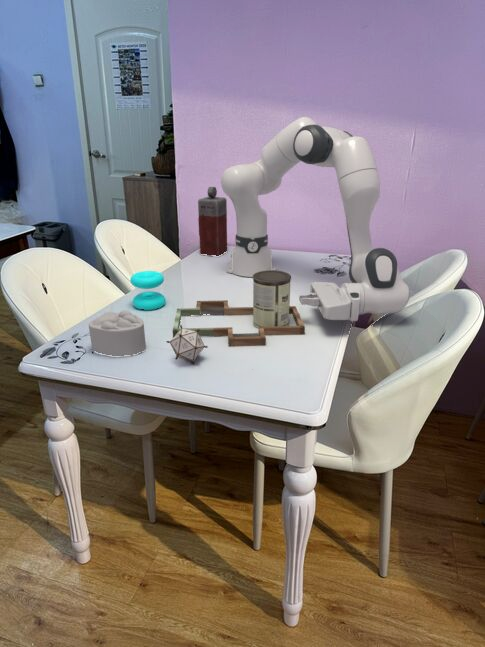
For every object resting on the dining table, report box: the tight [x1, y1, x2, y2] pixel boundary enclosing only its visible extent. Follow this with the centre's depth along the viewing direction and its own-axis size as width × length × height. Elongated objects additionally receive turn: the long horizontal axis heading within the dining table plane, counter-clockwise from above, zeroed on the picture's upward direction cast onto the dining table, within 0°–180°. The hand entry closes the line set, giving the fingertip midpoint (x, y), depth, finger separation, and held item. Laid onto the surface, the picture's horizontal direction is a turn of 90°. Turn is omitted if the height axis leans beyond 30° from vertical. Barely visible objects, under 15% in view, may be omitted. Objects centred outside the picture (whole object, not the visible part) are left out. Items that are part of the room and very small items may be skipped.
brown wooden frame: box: [172, 299, 306, 347], centre depth 126 cm, size 27×35×2 cm
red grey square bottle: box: [197, 186, 228, 256], centre depth 191 cm, size 9×11×28 cm
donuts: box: [129, 270, 167, 311], centre depth 138 cm, size 10×10×10 cm
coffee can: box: [252, 270, 292, 330], centre depth 124 cm, size 10×10×14 cm
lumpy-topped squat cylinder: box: [88, 309, 147, 356], centre depth 112 cm, size 10×13×9 cm
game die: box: [165, 324, 209, 365], centre depth 106 cm, size 9×8×10 cm
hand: (299, 299), depth 125 cm, fingers closed
